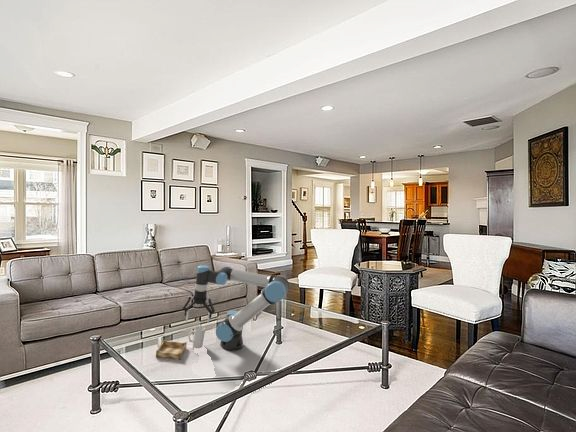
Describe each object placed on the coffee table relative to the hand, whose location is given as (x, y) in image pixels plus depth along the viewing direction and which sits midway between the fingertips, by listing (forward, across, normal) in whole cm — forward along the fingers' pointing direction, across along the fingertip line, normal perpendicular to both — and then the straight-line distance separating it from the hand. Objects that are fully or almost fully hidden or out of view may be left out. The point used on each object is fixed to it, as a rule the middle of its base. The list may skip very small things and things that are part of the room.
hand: (197, 321), depth 222 cm
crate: (+16, +12, +11) cm, 23 cm away
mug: (+17, 0, -1) cm, 17 cm away
